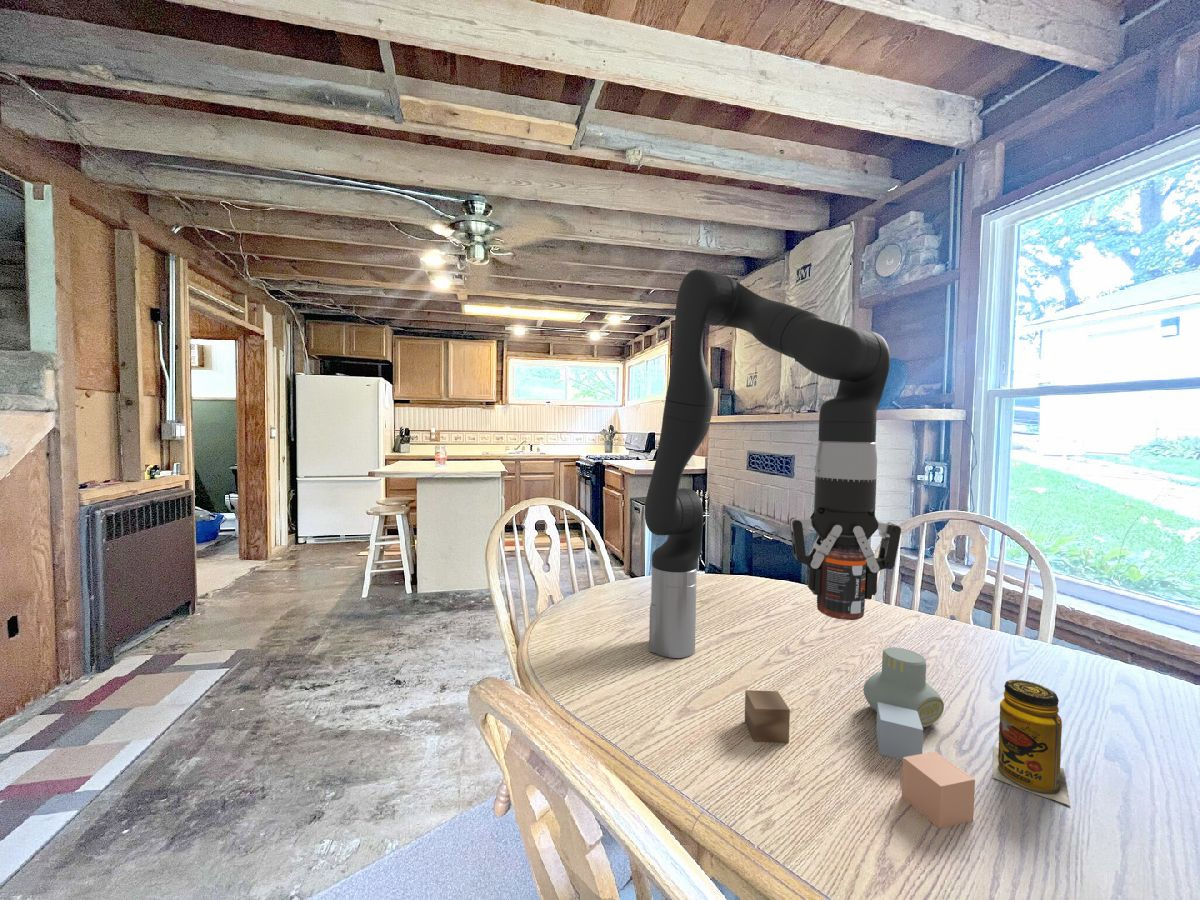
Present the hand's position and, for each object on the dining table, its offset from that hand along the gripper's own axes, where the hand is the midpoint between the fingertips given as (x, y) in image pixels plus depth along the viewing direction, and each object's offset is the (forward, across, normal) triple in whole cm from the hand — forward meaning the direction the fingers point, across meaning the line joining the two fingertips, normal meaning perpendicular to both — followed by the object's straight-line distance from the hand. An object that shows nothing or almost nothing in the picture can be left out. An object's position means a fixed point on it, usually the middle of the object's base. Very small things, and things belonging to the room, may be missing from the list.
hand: (840, 594), depth 66 cm
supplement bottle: (+3, 0, 0) cm, 3 cm away
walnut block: (+23, -9, +3) cm, 24 cm away
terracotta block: (+22, +9, -8) cm, 26 cm away
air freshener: (+23, +13, +12) cm, 29 cm away
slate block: (+23, +9, +3) cm, 25 cm away
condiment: (+23, +24, +1) cm, 33 cm away
